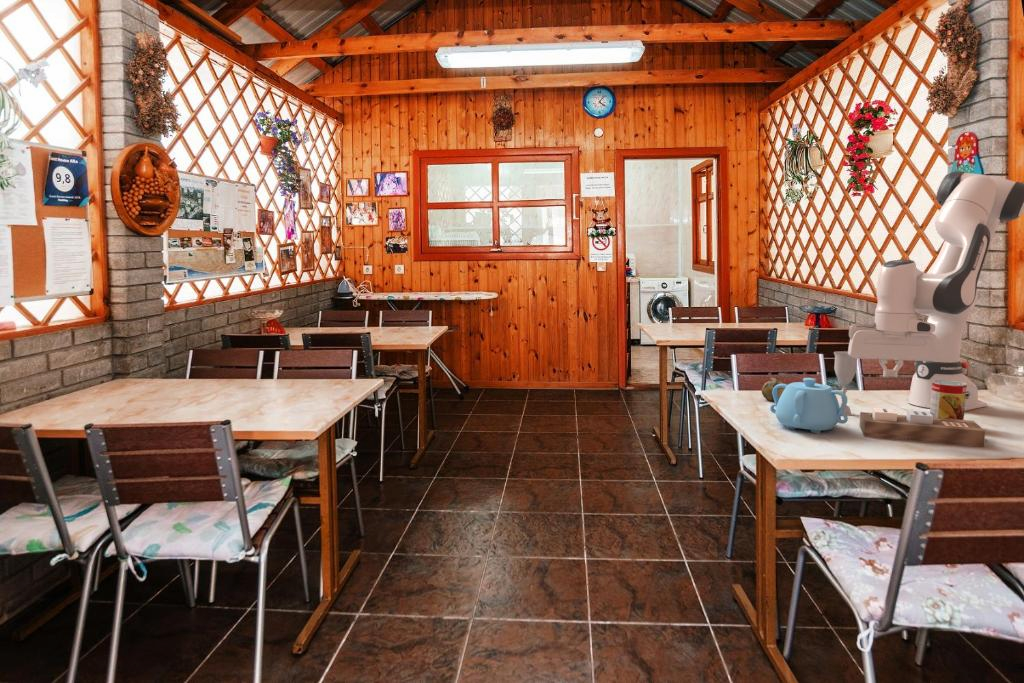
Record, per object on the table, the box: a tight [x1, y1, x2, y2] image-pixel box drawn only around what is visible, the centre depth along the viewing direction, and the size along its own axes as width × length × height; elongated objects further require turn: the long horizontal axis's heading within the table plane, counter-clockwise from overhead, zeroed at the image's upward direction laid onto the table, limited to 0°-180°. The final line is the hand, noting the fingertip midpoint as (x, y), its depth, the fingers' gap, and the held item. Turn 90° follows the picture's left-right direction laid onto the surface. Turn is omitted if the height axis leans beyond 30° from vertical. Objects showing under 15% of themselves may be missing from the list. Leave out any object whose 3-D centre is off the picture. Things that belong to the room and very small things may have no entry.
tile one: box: [871, 407, 898, 422], centre depth 175 cm, size 5×5×3 cm
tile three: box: [942, 421, 968, 427], centre depth 169 cm, size 5×5×3 cm
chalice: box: [833, 350, 858, 416], centre depth 196 cm, size 7×7×18 cm
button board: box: [858, 411, 986, 448], centre depth 172 cm, size 26×11×4 cm, turn 68°
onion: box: [761, 376, 785, 402], centre depth 214 cm, size 8×8×8 cm
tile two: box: [906, 410, 933, 424], centre depth 172 cm, size 5×5×3 cm
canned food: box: [929, 380, 967, 420], centre depth 183 cm, size 8×8×12 cm
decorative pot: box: [769, 377, 849, 434], centre depth 180 cm, size 16×16×14 cm
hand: (890, 376), depth 173 cm, fingers closed
